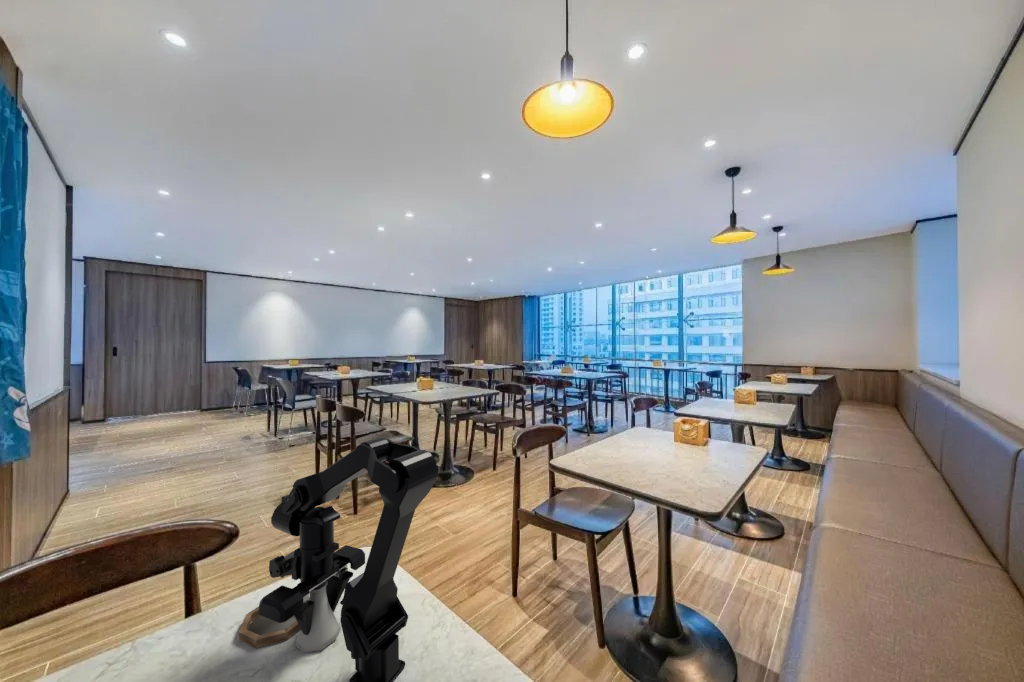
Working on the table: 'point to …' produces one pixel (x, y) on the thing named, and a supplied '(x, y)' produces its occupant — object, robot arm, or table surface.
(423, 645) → the table surface
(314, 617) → the flask
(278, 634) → the brown octagonal tray
